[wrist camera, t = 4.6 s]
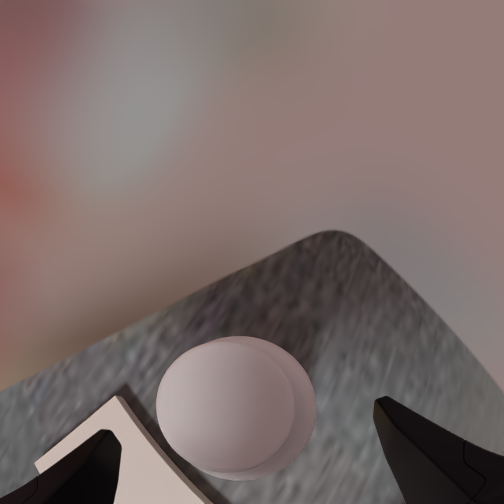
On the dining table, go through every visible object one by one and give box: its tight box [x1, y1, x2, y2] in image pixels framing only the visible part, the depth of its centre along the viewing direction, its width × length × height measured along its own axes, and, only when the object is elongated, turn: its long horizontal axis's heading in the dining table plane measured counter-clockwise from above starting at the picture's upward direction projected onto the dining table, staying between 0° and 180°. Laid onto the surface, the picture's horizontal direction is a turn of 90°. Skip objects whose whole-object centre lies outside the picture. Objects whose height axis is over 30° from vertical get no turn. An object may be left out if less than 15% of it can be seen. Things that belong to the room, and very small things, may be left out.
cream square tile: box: [34, 395, 213, 504], centre depth 12 cm, size 11×11×1 cm
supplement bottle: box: [156, 336, 316, 480], centre depth 11 cm, size 6×6×10 cm
